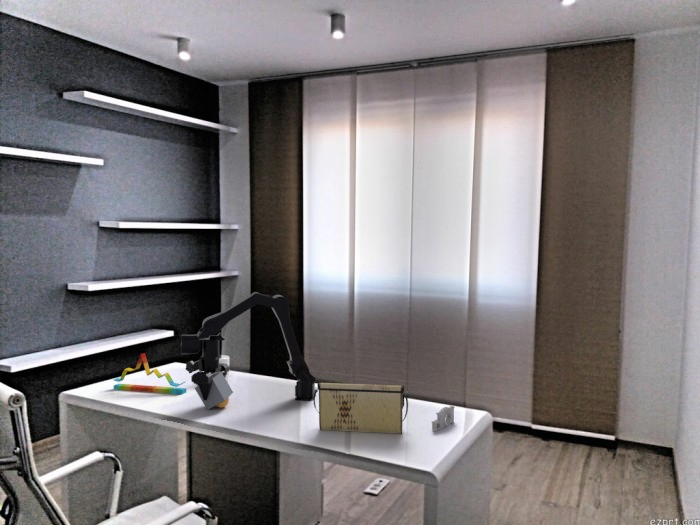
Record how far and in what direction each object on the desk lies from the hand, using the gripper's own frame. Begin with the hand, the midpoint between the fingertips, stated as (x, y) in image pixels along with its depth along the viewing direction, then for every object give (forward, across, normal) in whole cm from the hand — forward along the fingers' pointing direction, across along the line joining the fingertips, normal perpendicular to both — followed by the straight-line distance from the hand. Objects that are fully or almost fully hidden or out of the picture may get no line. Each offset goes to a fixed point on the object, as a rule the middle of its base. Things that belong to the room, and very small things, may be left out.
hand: (211, 396), depth 202 cm
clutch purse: (+4, +13, +56) cm, 58 cm away
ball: (+1, 0, +4) cm, 4 cm away
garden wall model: (+3, +6, +82) cm, 82 cm away
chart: (+4, -16, -33) cm, 37 cm away
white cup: (+4, -34, -12) cm, 37 cm away
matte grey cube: (+1, 0, +3) cm, 4 cm away
